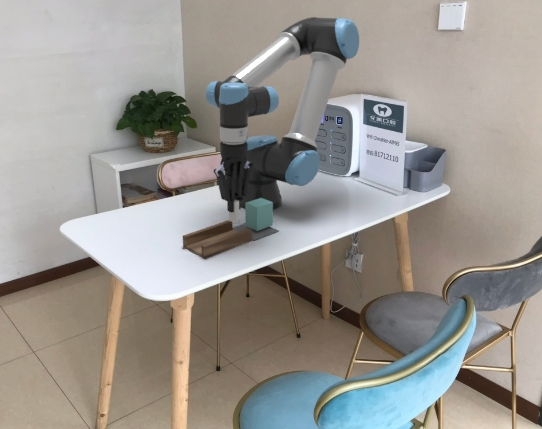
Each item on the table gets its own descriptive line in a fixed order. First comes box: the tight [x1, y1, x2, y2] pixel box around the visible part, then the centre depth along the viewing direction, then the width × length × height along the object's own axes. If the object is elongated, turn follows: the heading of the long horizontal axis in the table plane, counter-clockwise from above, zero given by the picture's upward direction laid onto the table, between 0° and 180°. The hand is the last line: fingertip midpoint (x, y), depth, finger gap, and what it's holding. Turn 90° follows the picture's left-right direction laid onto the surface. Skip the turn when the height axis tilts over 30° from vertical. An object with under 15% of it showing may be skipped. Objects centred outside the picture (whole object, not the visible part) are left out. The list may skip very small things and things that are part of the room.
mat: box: [233, 222, 280, 242], centre depth 162 cm, size 11×10×1 cm
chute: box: [182, 219, 253, 259], centre depth 153 cm, size 10×17×4 cm, turn 134°
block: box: [244, 198, 274, 231], centre depth 162 cm, size 5×6×8 cm
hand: (234, 221), depth 155 cm, fingers closed
